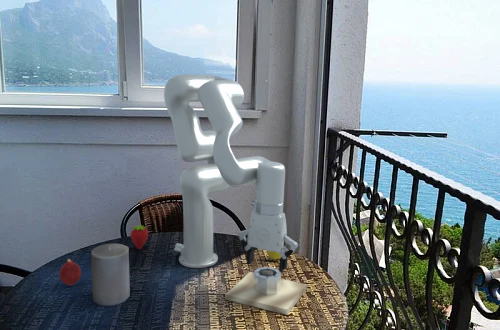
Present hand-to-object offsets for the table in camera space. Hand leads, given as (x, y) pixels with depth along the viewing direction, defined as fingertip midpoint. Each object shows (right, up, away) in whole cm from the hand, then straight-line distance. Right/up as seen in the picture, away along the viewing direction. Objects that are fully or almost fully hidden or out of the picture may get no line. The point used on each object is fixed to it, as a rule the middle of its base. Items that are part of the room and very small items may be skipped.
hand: (265, 266), depth 127 cm
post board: (0, -8, +1) cm, 8 cm away
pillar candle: (-42, -8, -2) cm, 43 cm away
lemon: (+4, -4, +25) cm, 25 cm away
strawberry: (-43, -1, +31) cm, 53 cm away
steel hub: (0, -7, +1) cm, 7 cm away
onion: (-56, -7, +4) cm, 56 cm away
